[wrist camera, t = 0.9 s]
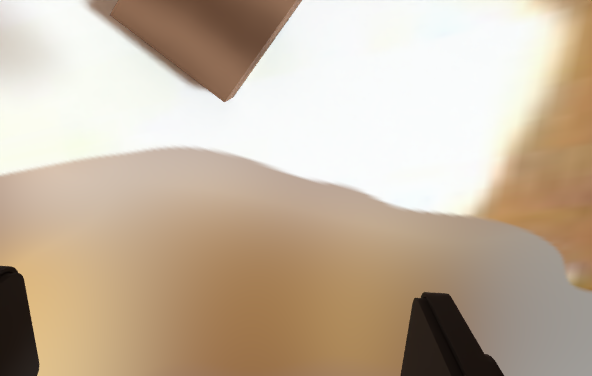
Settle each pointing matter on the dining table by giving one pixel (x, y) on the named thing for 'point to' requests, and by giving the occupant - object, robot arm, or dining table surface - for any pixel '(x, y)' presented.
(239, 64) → the walnut block
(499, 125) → the dining table surface
